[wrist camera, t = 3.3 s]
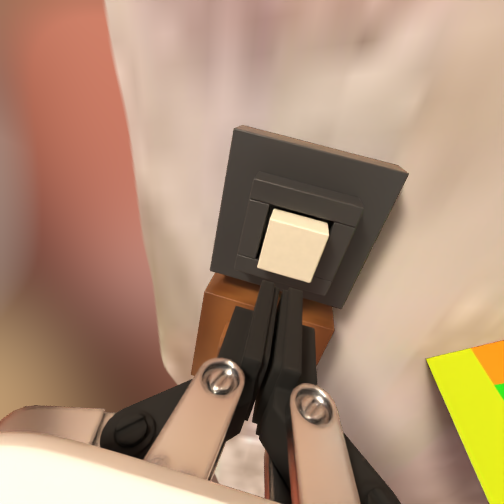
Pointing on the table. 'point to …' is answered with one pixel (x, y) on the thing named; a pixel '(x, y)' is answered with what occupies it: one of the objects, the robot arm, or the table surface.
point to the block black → (302, 208)
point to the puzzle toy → (477, 408)
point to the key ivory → (293, 245)
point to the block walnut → (245, 295)
